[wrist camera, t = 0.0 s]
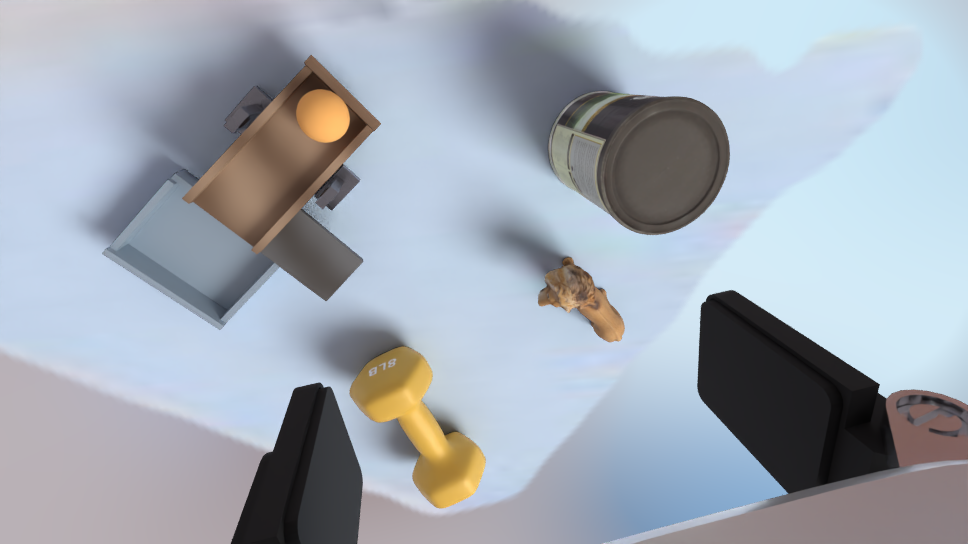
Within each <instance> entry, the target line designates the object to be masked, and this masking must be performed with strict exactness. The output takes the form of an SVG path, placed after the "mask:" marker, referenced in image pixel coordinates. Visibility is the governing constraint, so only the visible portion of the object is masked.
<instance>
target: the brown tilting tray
mask: <svg viewBox="0 0 968 544" xmlns="http://www.w3.org/2000/svg"><path fill="white" fill-rule="evenodd" d="M304 63H305V65H306V66H305V67H304V68H303V69H302V70H301V71H300V72H299V73H298V74H297V75H296V76H295V77H294V78H293V80H292V81H291V82H290V83H289V84H288V85H287V86H286V87H285V88H284V89H283V90H282V91H281V92H280V94H279V95H278V96H277V97H276V98H275V99H274V100H273V101H272V102H271V103H270V104H269V105H268V106H267V107H266V109H265V110H264V111H263V112H262V113H261V114H260V115H259V116H258V117H257V118H256V119H255V120H254V121H253V123H252V124H251V125H250V126H249V127H248V128H247V129H246V130H245V131H244V132H243V133H242V134H241V135H240V136H239V138H238V139H237V140H236V141H235V142H234V143H233V144H232V145H231V146H230V147H229V148H228V149H227V150H226V152H225V153H224V154H223V155H222V156H221V157H220V158H219V159H218V160H217V161H216V162H215V163H214V164H213V166H212V167H211V168H210V169H209V170H208V171H207V172H206V173H205V174H204V175H203V176H202V177H201V178H200V179H199V181H198V182H197V183H196V184H195V185H194V186H193V187H192V188H191V189H190V190H189V191H188V192H187V193H186V195H185V196H184V197H183V198H182V199H183V200H184V201H185V202H187V203H188V204H190V203H192V202H194V203H195V204H196V205H198V206H199V207H200V208H202V209H203V210H204V211H206V212H207V213H209V214H210V215H211V216H213V217H214V218H215V219H217V220H218V221H219V222H221V223H222V224H223V225H225V226H226V227H227V228H229V229H230V230H231V231H233V232H234V233H235V234H237V235H238V236H239V237H241V238H242V239H243V240H245V241H246V242H247V243H249V244H250V245H251V246H253V248H252V249H251V251H253V252H254V253H255V254H258V253H259V252H261V253H262V254H263V255H265V256H266V257H267V258H269V259H270V260H271V261H273V262H274V263H275V264H277V265H278V266H279V267H281V268H282V269H283V270H285V271H286V272H287V273H289V274H290V275H291V276H293V277H294V278H295V279H297V280H298V281H299V282H301V283H302V284H303V285H305V286H306V287H307V288H309V289H310V290H311V291H313V292H314V293H316V294H317V295H318V296H320V297H321V298H322V299H324V300H325V301H327V300H328V299H329V298H330V297H331V296H332V295H333V294H334V292H335V291H336V290H337V289H338V288H339V287H340V286H341V285H342V284H343V283H344V282H345V281H346V280H347V278H348V277H349V276H350V275H351V274H352V273H353V272H354V271H355V270H356V269H357V268H358V267H359V266H360V264H361V263H362V262H363V259H362V258H361V257H360V256H359V255H357V254H356V253H355V252H354V251H352V250H351V249H350V248H349V247H348V246H346V245H345V244H344V243H343V242H342V241H340V240H339V239H338V238H337V237H335V236H334V235H333V234H332V233H331V232H329V231H328V230H327V229H326V228H325V227H323V226H322V225H321V224H320V223H318V222H317V221H316V220H315V219H314V218H312V217H311V216H310V215H309V214H308V213H306V212H305V211H304V210H303V209H301V208H302V207H303V206H304V205H305V204H306V203H307V202H308V201H309V200H310V198H311V197H312V196H313V195H314V194H315V193H316V192H317V191H318V190H319V189H320V188H321V187H322V186H323V184H324V183H325V182H326V181H327V180H328V179H329V178H330V177H331V176H332V175H333V174H334V173H335V172H336V171H337V169H338V168H339V167H340V166H341V165H342V164H343V163H344V162H345V161H346V160H347V159H348V158H349V157H350V155H351V154H352V153H353V152H354V151H355V150H356V149H357V148H358V147H359V146H360V145H361V144H362V143H363V141H364V140H365V139H366V138H367V137H368V136H369V135H370V134H371V133H372V132H373V131H375V130H376V129H377V128H378V127H379V126H380V124H381V123H380V122H379V121H378V120H377V119H376V118H375V117H374V116H373V115H372V114H371V113H370V112H369V111H368V110H367V109H366V108H365V107H364V106H363V105H362V104H361V103H360V102H359V101H358V100H357V99H356V98H355V97H354V96H353V95H352V94H351V93H350V92H349V91H347V90H346V89H345V88H344V87H343V86H342V85H341V84H340V83H339V82H338V81H337V80H336V79H335V78H334V77H333V76H332V75H331V74H330V73H329V72H328V71H327V70H326V69H325V68H324V67H323V66H322V65H321V64H320V63H319V62H318V61H317V60H316V59H315V58H314V57H313V56H312V55H311V56H310V57H309V58H308V59H307V60H306V61H305V62H304ZM317 89H323V90H328V91H331V92H333V93H335V94H336V95H338V96H339V97H340V98H341V99H342V100H343V101H344V103H345V104H346V106H347V108H348V111H349V116H350V122H349V127H348V129H347V131H346V133H345V134H344V135H343V136H342V137H341V138H340V139H338V140H336V141H333V142H328V143H324V142H318V141H315V140H313V139H311V138H310V137H308V136H307V135H306V134H305V133H304V132H303V131H302V130H301V128H300V126H299V124H298V121H297V117H296V110H297V105H298V103H299V101H300V99H301V98H302V97H303V96H304V95H305V94H306V93H308V92H310V91H313V90H317Z"/></svg>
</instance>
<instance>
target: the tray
mask: <svg viewBox="0 0 968 544" xmlns="http://www.w3.org/2000/svg"><path fill="white" fill-rule="evenodd" d="M198 181H199V180H198V179H197V178H196V177H194V176H193V175H192V174H190V173H189V172H188V171H187V170H185V169H184V170H181V171H179V172H177V173H175V174H174V175H173V176H172V177H171V178H170V179H168V180H167V181H166V182H165V183H164V184H163V186H162V187H161V188H160V189H159V190H158V191H157V193H156V194H155V195H154V196H153V197H152V198H151V199H150V201H149V202H148V203H147V204H146V205H145V206H144V208H143V209H142V210H141V211H140V212H139V213H138V214H137V216H136V217H135V218H134V219H133V220H132V221H131V223H130V224H129V225H128V226H127V227H126V228H125V229H124V231H123V232H122V233H121V234H120V235H119V236H118V238H117V239H116V240H115V241H114V242H113V243H112V245H111V246H110V247H108V248H107V249H105V250H104V252H103V253H102V254H103V255H105V256H106V257H108V258H109V259H111V260H112V261H114V262H115V263H117V264H119V265H120V266H122V267H123V268H125V269H126V270H128V271H129V272H131V273H132V274H134V275H136V276H137V277H139V278H140V279H142V280H143V281H145V282H146V283H148V284H149V285H151V286H153V287H154V288H156V289H157V290H159V291H160V292H162V293H163V294H165V295H166V296H168V297H170V298H171V299H173V300H174V301H176V302H177V303H179V304H180V305H182V306H183V307H185V308H187V309H188V310H190V311H191V312H193V313H194V314H196V315H197V316H199V317H200V318H202V319H204V320H205V321H207V322H208V323H210V324H211V325H213V326H214V327H216V328H217V329H219V330H221V329H222V328H223V327H224V325H225V324H226V323H227V322H228V321H229V319H230V318H231V317H232V316H233V315H234V314H235V313H236V312H237V311H238V310H239V309H240V308H241V307H242V306H243V305H244V304H245V303H246V302H247V301H248V300H249V299H250V298H251V297H252V295H253V294H254V293H255V292H256V291H257V290H258V289H259V288H260V287H261V286H262V285H263V284H264V283H265V282H266V281H267V280H268V279H269V278H270V277H271V276H272V275H273V274H274V273H275V272H276V270H277V269H278V268H279V266H278V265H277V264H275V263H274V262H273V261H271V260H270V259H269V258H267V257H266V256H265V255H263V254H262V253H261V252H259V253H258V254H255V253H254V252H253V251H251V249H252V248H253V246H251V245H250V244H249V243H247V242H246V241H245V240H243V239H242V238H241V237H239V236H238V235H237V234H235V233H234V232H233V231H231V230H230V229H229V228H227V227H226V226H225V225H223V224H222V223H221V222H219V221H218V220H217V219H215V218H214V217H213V216H211V215H210V214H209V213H207V212H206V211H204V210H203V209H202V208H200V207H199V206H198V205H196V204H195V203H194V202H192V203H190V204H188V203H187V202H185V201H184V200H183V199H182V198H183V197H184V196H185V195H186V193H187V192H188V191H189V190H190V189H191V188H192V187H193V186H194V185H195V184H196V183H197V182H198Z"/></svg>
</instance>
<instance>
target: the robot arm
mask: <svg viewBox="0 0 968 544" xmlns="http://www.w3.org/2000/svg"><path fill="white" fill-rule="evenodd" d="M698 363H699V364H698V384H697V387H698V393H699V395H700V397H701V399H702V401H703V402H704V403H705V404H706V405H707V406H708V407H709V408H710V409H711V411H712V412H713V413H714V414H715V415H716V416H717V417H718V418H719V419H720V420H721V421H722V422H723V423H724V424H725V426H727V428H728V429H729V430H730V431H731V432H732V433H733V434H734V435H735V436H736V438H737V439H738V440H739V441H740V442H741V443H742V444H743V445H744V446H745V447H746V448H747V449H748V450H749V451H750V453H751V454H752V455H753V456H754V457H755V458H756V459H757V460H758V461H759V462H760V463H761V464H762V466H763V467H764V468H765V469H766V470H767V471H768V472H769V473H770V474H771V475H772V476H773V477H774V479H775V480H776V481H777V482H778V483H779V484H780V485H781V486H782V487H783V488H784V489H785V490H786V491H787V493H788V494H787V495H783V496H779V497H775V498H771V499H767V500H764V501H760V502H756V503H752V504H749V505H745V506H741V507H737V508H733V509H729V510H726V511H722V512H718V513H714V514H710V515H707V516H703V517H699V518H696V519H692V520H688V521H684V522H681V523H677V524H673V525H669V526H666V527H662V528H658V529H654V530H651V531H647V532H643V533H639V534H636V535H632V536H628V537H625V538H621V539H618V540H614V541H610V542H606V543H602V544H968V405H966V404H965V403H963V402H961V401H959V400H956V399H953V398H951V397H948V396H946V395H943V394H938V393H934V392H930V391H923V390H900V391H898V392H895V393H892V394H891V395H890V396H889V397H888V398H887V399H886V398H885V397H883V396H882V395H880V394H879V393H878V388H879V385H880V384H878V383H876V382H875V381H874V380H872V379H871V378H869V377H867V376H866V375H864V374H863V373H861V372H860V371H858V370H857V369H855V368H853V367H852V366H850V365H849V364H847V363H846V362H844V361H843V360H841V359H840V358H838V357H836V356H835V355H833V354H831V353H830V352H828V351H827V350H826V349H824V348H823V347H821V346H819V345H818V344H816V343H815V342H813V341H812V340H810V339H809V338H807V337H806V336H804V335H802V334H801V333H799V332H798V331H796V330H795V329H793V328H791V327H790V326H788V325H787V324H785V323H784V322H782V321H781V320H779V319H778V318H776V317H774V316H773V315H771V314H770V313H768V312H767V311H765V310H764V309H762V308H761V307H759V306H757V305H756V304H754V303H753V302H751V301H750V300H748V299H747V298H745V297H744V296H742V295H740V294H739V293H737V292H736V291H733V290H729V291H725V292H721V293H716V294H712V295H709V296H708V297H707V299H706V302H704V303H702V305H701V318H700V340H699V362H698ZM362 485H363V481H362V473H361V469H360V466H359V463H358V460H357V457H356V455H355V452H354V449H353V446H352V443H351V441H350V438H349V435H348V432H347V429H346V427H345V424H344V421H343V418H342V415H341V413H340V410H339V407H338V404H337V401H336V399H335V396H334V393H333V390H332V389H331V387H325V388H324V387H323V385H322V384H321V383H315V384H310V385H306V386H302V387H297V388H295V389H294V391H293V393H292V396H291V399H290V402H289V405H288V408H287V411H286V414H285V417H284V420H283V423H282V426H281V429H280V432H279V435H278V438H277V441H276V444H275V447H274V450H273V452H269V453H266V454H265V455H264V456H263V458H262V460H261V461H260V464H259V467H258V470H257V472H256V475H255V478H254V481H253V484H252V486H251V489H250V492H249V495H248V498H247V500H246V503H245V506H244V508H243V511H242V514H241V517H240V520H239V522H238V525H237V528H236V531H235V534H234V536H233V539H232V542H231V544H357V540H358V529H359V519H360V518H359V517H360V507H361V497H362Z"/></svg>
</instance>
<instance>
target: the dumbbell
mask: <svg viewBox="0 0 968 544" xmlns="http://www.w3.org/2000/svg"><path fill="white" fill-rule="evenodd" d="M432 377H433V374H432V370H431V368H430V366H429V364H428V363H427V361H426V359H425V358H424V357H423V356H422V355H421V354H420V353H418V352H417V351H415V350H413V349H411V348H409V347H404V346H403V347H398V348H395V349H392V350H390V351H388V352H386V353H384V354H382V355H380V356H378V357H376V358H374V359H372V360H371V361H369V362H368V363H367V364H366V365H365V366H364V368H363V369H362V370H361V372H360V373H359V375H358V376H357V377H356V379H355V380H354V382H353V383H352V385H351V388H350V396H351V398H352V399H353V401H354V402H355V404H356V405H357V406H358V407H359V409H360V410H361V411H362V412H363V413H364V414H365V415H366V416H367V417H368V418H370V419H371V420H373V421H375V422H387V421H390V420H392V419H395V418H397V419H398V421H399V423H400V425H401V427H402V429H403V430H404V432H405V433H406V435H407V436H408V438H409V439H410V441H411V442H412V443H413V445H414V446H415V447H416V449H417V450H418V451H419V452H420V453H421V454H420V456H419V458H418V460H417V463H416V465H415V468H414V471H413V475H412V477H413V481H414V483H415V485H416V487H417V488H418V489H419V491H420V492H421V493H422V495H423V496H424V497H425V498H426V499H427V500H428V501H429V502H430V503H431V504H432V505H434V506H435V507H436V508H446V507H449V506H451V505H454V504H456V503H458V502H460V501H462V500H464V499H466V498H468V497H470V496H471V495H473V494H474V493H475V491H476V489H477V487H478V485H479V483H480V480H481V477H482V474H483V471H484V468H485V463H486V459H485V456H484V454H483V453H482V451H481V449H480V448H479V447H478V446H477V445H476V444H475V443H474V442H473V441H472V440H471V439H469V438H468V437H466V436H465V435H463V434H461V433H459V432H452V433H449V434H447V435H444V433H443V431H442V429H441V428H440V426H439V424H438V423H437V421H436V419H435V418H434V416H433V415H432V413H431V412H430V411H429V409H428V408H427V406H426V405H425V404H424V403H423V402H422V401H421V399H422V398H423V396H424V395H425V393H426V391H427V389H428V388H429V386H430V384H431V381H432Z"/></svg>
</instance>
